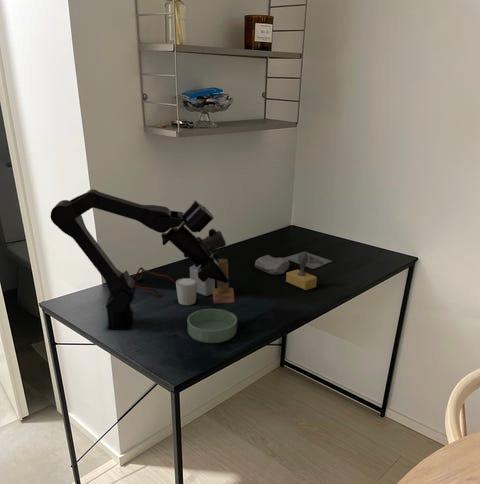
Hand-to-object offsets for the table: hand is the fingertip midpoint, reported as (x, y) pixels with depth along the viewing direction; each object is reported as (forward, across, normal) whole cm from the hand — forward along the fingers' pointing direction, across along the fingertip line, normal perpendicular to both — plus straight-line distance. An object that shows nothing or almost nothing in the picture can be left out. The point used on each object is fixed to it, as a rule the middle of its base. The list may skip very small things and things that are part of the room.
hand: (227, 279), depth 142 cm
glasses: (-7, +28, +27) cm, 39 cm away
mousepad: (+39, +49, -20) cm, 66 cm away
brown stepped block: (+4, 0, +5) cm, 7 cm away
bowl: (+6, -6, +13) cm, 16 cm away
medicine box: (+5, +23, +14) cm, 27 cm away
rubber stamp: (+30, +27, -11) cm, 42 cm away
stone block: (+24, +42, -5) cm, 49 cm away
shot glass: (+2, +15, +18) cm, 24 cm away
